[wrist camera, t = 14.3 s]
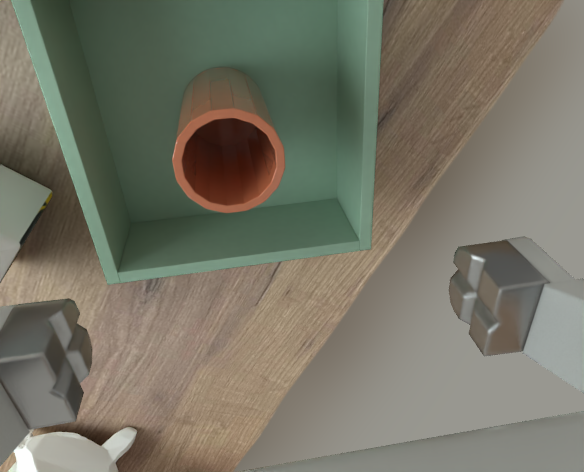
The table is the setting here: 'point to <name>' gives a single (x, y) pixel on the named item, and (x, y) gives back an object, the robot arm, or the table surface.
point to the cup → (226, 142)
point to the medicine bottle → (18, 213)
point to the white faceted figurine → (71, 452)
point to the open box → (165, 112)
